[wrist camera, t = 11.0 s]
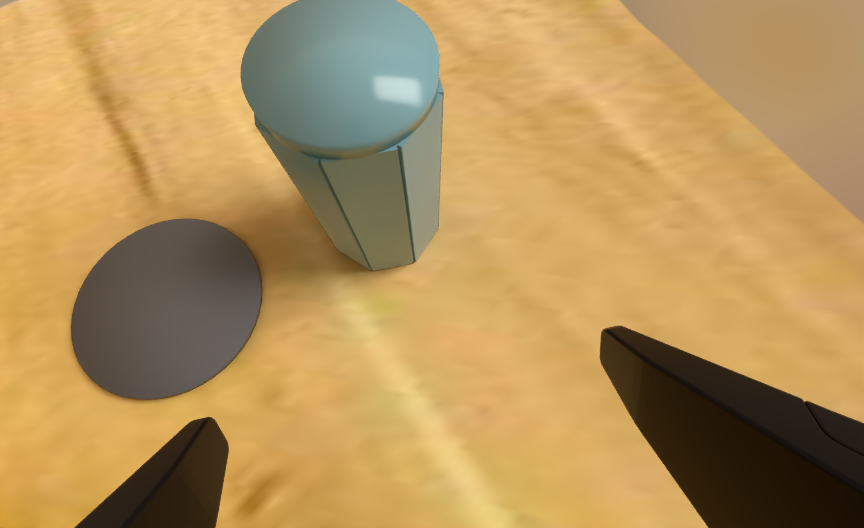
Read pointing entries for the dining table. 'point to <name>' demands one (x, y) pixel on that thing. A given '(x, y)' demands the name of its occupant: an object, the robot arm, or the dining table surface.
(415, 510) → the dining table surface
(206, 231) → the disc
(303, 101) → the blue-grey tall faceted cylinder
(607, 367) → the robot arm
